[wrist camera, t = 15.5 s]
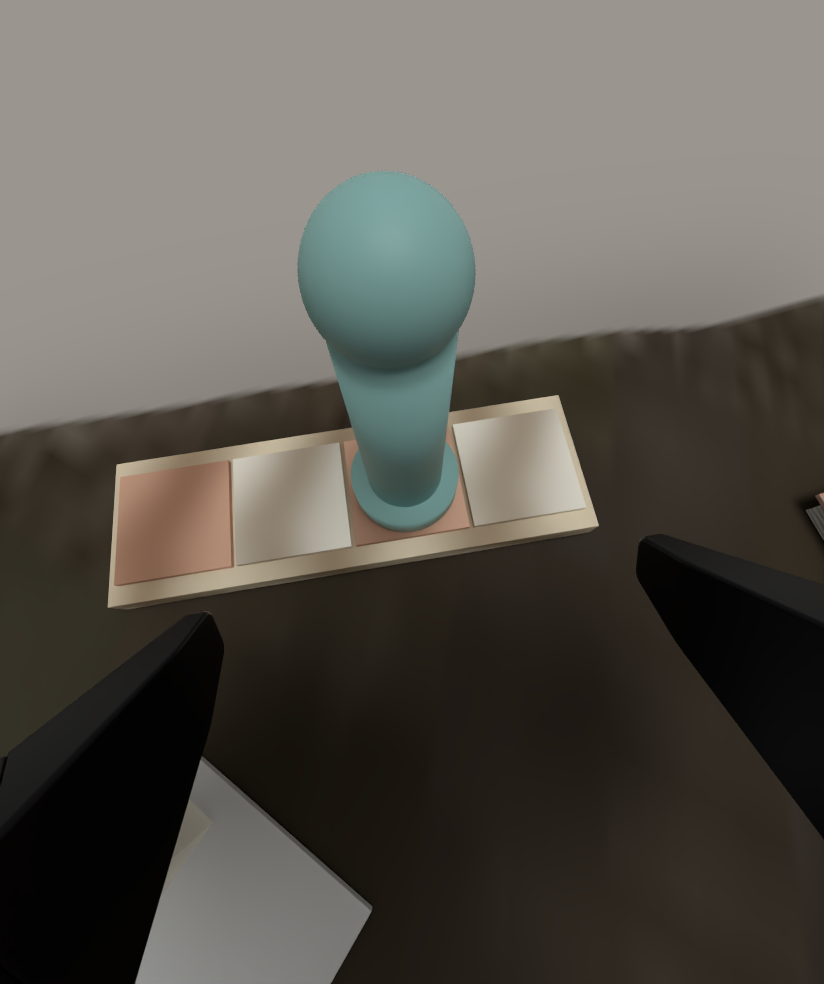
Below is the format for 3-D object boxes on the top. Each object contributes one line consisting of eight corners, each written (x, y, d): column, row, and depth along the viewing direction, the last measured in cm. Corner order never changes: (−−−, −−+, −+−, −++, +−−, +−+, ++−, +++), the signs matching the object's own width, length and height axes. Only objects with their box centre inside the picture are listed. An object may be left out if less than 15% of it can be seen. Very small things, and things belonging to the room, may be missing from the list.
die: (217, 821, 16) (141, 887, 12) (125, 951, 15) (4, 1077, 11) (131, 740, 17) (32, 773, 13) (39, 856, 16) (-105, 936, 12)
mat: (372, 906, 16) (371, 911, 15) (242, 1136, 14) (237, 1147, 13) (135, 696, 18) (130, 697, 18) (-3, 869, 16) (-10, 873, 16)
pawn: (477, 488, 19) (578, 202, 7) (398, 553, 18) (352, 356, 6) (412, 419, 20) (399, 72, 8) (334, 477, 19) (189, 183, 7)
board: (551, 407, 22) (560, 391, 20) (588, 532, 20) (601, 523, 18) (133, 474, 21) (112, 462, 20) (126, 609, 19) (102, 607, 18)
